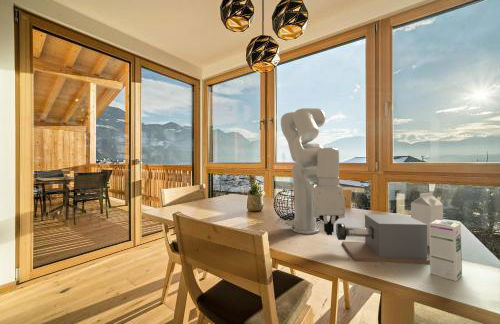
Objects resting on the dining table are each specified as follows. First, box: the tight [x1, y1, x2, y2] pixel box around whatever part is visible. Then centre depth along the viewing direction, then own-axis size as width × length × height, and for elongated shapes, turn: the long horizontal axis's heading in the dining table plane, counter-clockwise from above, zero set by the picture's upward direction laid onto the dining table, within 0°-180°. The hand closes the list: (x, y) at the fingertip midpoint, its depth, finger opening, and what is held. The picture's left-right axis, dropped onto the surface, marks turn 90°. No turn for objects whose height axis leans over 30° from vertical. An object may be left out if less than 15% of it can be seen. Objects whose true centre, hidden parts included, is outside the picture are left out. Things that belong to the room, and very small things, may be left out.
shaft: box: [335, 222, 374, 241], centre depth 78 cm, size 18×6×6 cm, turn 82°
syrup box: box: [428, 219, 463, 282], centre depth 62 cm, size 6×6×14 cm
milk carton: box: [410, 192, 444, 247], centre depth 85 cm, size 7×7×19 cm
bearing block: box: [341, 213, 430, 265], centre depth 77 cm, size 23×14×12 cm, turn 82°
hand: (328, 233), depth 79 cm, fingers closed
